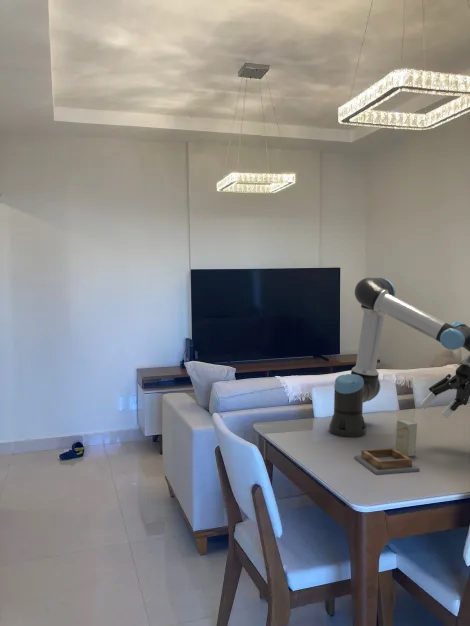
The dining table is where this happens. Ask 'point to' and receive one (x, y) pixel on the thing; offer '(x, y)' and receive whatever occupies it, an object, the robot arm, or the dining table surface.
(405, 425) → the skincare box
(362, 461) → the slate tray
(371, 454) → the walnut collar
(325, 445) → the dining table surface
